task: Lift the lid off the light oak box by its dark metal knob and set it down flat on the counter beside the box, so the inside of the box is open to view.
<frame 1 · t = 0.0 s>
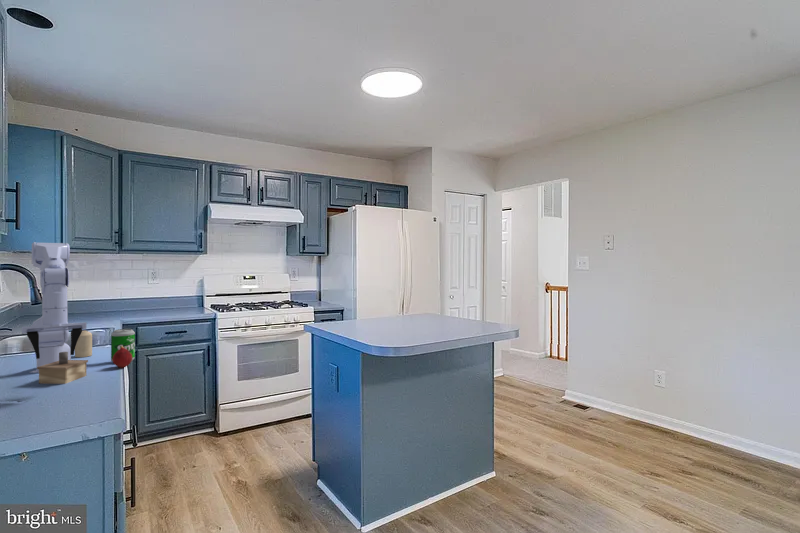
hand: (55, 356, 124), 11 cm above the counter, tool pointing down, fingers open, 7 cm apart
candle: (83, 356, 171), on the counter
lid: (63, 365, 136), point 5 cm above the counter, touching box
box: (63, 381, 136), on the counter
onion: (122, 369, 152), on the counter
soda can: (123, 362, 162), on the counter
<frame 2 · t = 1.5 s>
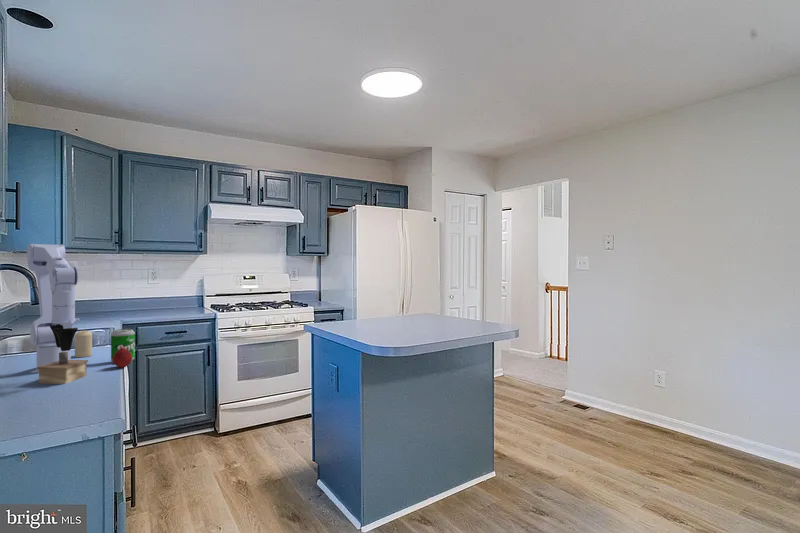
hand: (63, 348, 136), 10 cm above the counter, tool pointing down, fingers open, 7 cm apart
nothing on the counter moved.
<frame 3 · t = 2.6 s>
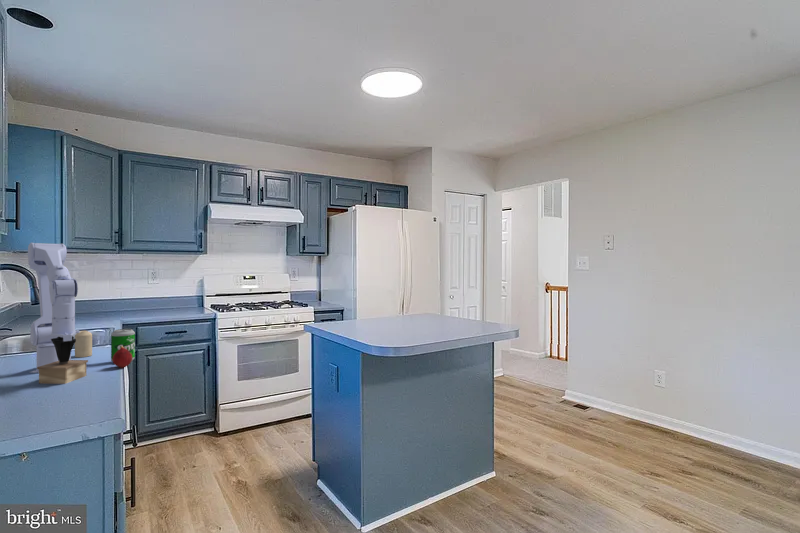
hand: (63, 361, 136), 6 cm above the counter, tool pointing down, fingers closed on lid, 2 cm apart
lid: (63, 365, 136), point 5 cm above the counter, touching box, gripper
everything else where it was.
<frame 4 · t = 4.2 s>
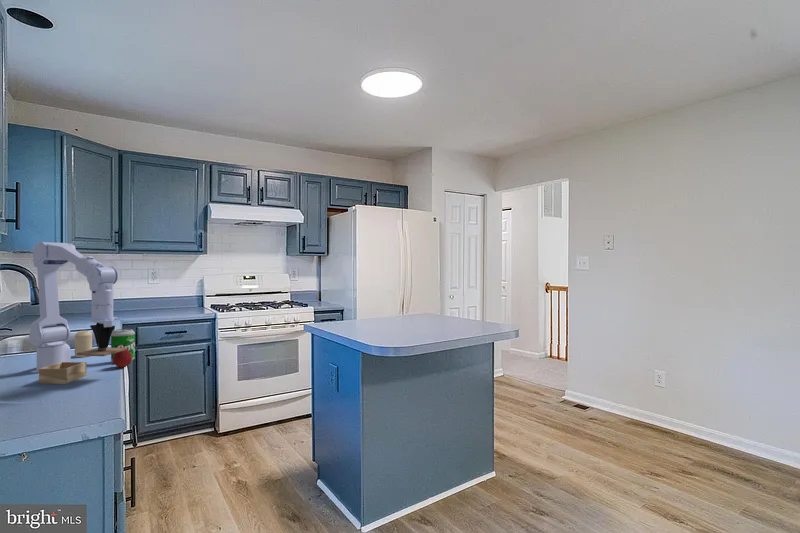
hand: (102, 347, 138), 10 cm above the counter, tool pointing down, fingers closed on lid, 2 cm apart
lid: (101, 352, 138), point 9 cm above the counter, touching gripper
everything else where it was.
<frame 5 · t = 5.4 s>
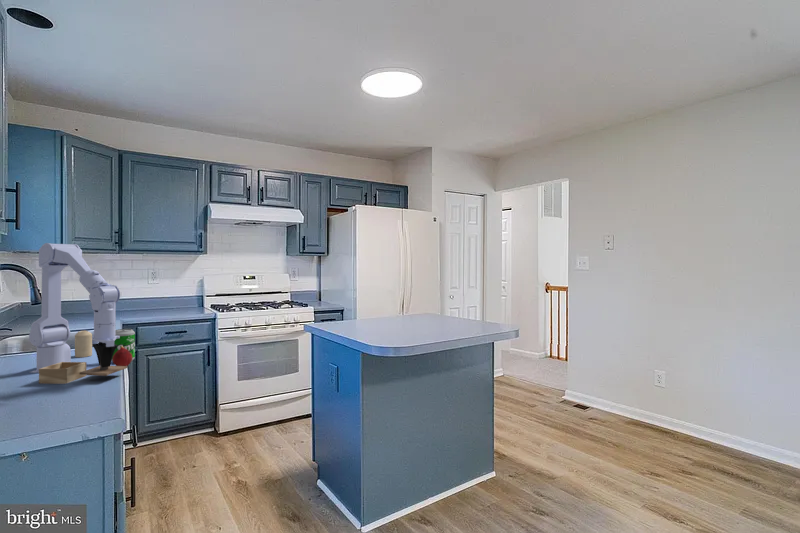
hand: (104, 366, 138), 4 cm above the counter, tool pointing down, fingers closed on lid, 2 cm apart
lid: (104, 371, 138), point 3 cm above the counter, touching gripper
everything else where it was.
when the fingers open (3 cm above the counter, at t = 5.9 s): lid drops 2 cm, on the counter.
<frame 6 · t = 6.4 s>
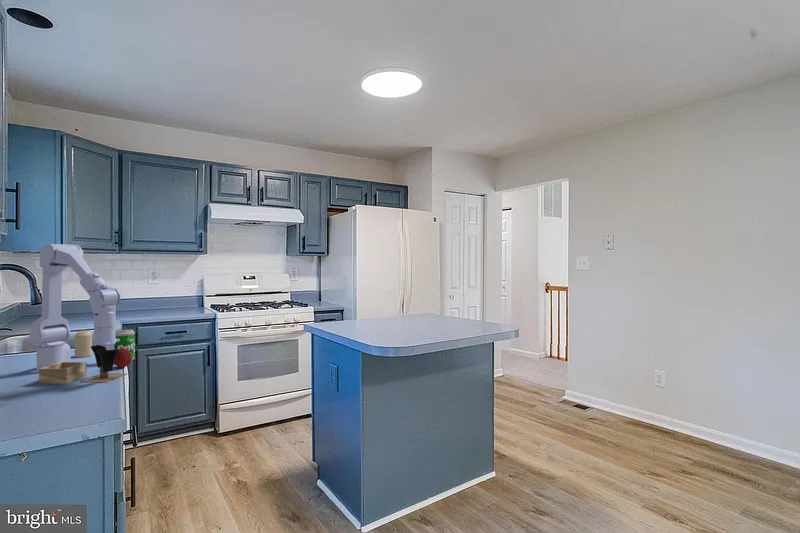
hand: (104, 369, 138), 3 cm above the counter, tool pointing down, fingers open, 7 cm apart
lid: (104, 379, 138), on the counter
everything else where it was.
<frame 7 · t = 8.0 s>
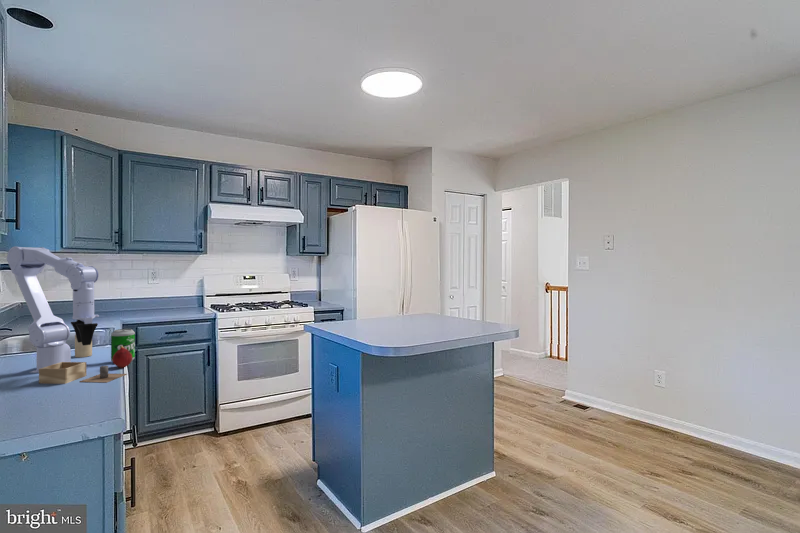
hand: (84, 343, 144), 10 cm above the counter, tool pointing down, fingers open, 7 cm apart
nothing on the counter moved.
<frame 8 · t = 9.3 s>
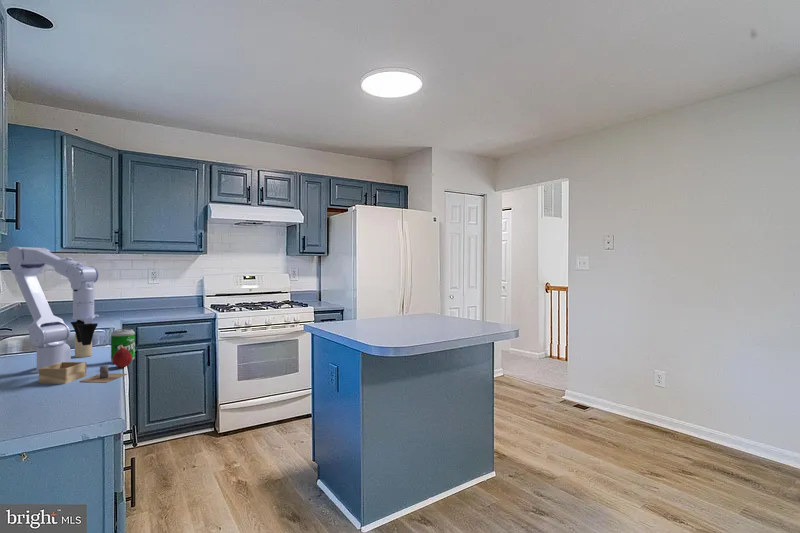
hand: (84, 343, 144), 10 cm above the counter, tool pointing down, fingers open, 7 cm apart
nothing on the counter moved.
at the end: lid touching counter; lid inside the target area (0.1 cm from its centre), on the counter; lid tilted 0° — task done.
